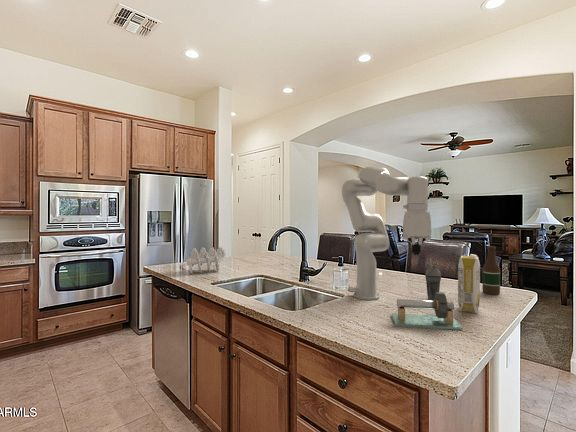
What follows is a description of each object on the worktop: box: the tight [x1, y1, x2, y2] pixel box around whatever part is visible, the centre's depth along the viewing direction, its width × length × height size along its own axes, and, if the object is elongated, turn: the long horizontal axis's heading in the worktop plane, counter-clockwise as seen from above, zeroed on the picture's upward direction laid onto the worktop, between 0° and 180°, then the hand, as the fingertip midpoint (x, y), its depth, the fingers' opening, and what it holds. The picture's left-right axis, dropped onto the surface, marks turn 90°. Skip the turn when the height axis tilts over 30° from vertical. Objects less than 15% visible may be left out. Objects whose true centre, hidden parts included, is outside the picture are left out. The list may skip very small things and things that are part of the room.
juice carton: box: [457, 253, 481, 314], centre depth 137 cm, size 9×8×24 cm
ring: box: [434, 291, 448, 318], centre depth 122 cm, size 2×9×9 cm, turn 169°
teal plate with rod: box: [390, 298, 464, 331], centre depth 123 cm, size 23×12×9 cm, turn 79°
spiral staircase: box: [185, 246, 226, 274], centre depth 223 cm, size 18×18×25 cm
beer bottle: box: [482, 245, 501, 296], centre depth 164 cm, size 8×8×24 cm
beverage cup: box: [424, 257, 443, 301], centre depth 153 cm, size 7×7×20 cm
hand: (416, 254), depth 127 cm, fingers closed
